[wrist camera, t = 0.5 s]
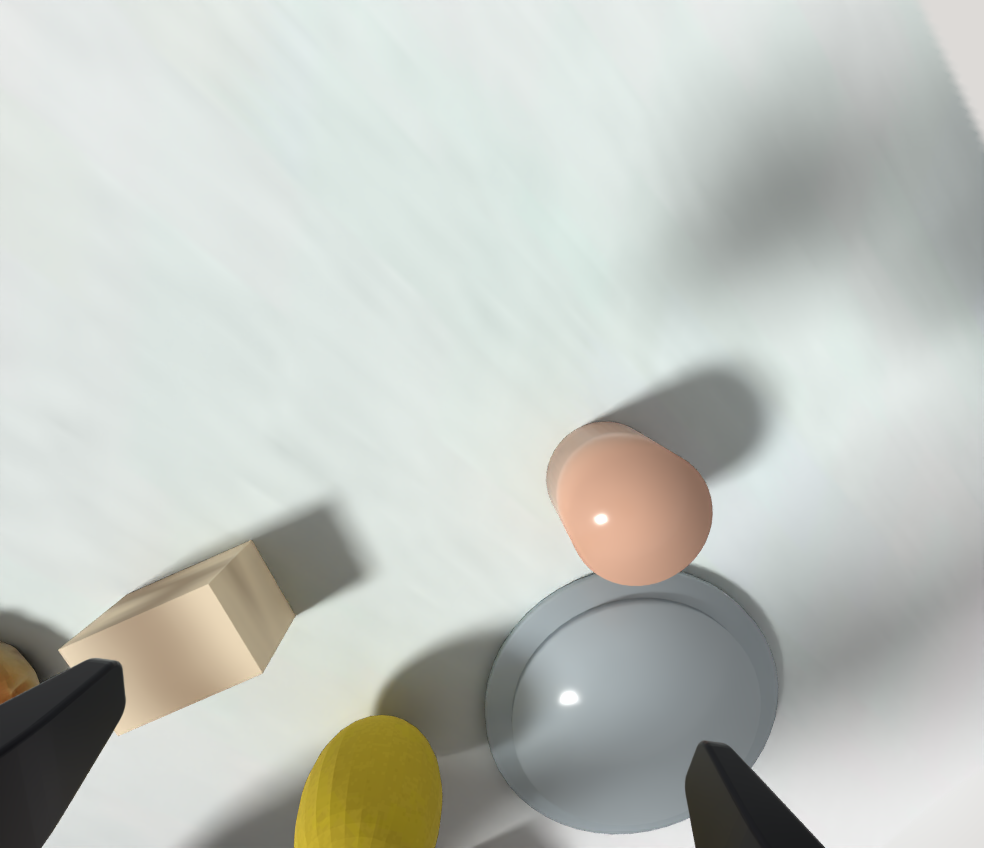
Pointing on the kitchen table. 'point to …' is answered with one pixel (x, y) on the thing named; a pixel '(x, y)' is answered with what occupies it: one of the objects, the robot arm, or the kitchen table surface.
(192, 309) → the kitchen table surface
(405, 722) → the lemon
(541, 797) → the plate
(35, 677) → the pastry
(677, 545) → the pink cylinder
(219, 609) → the beech block
